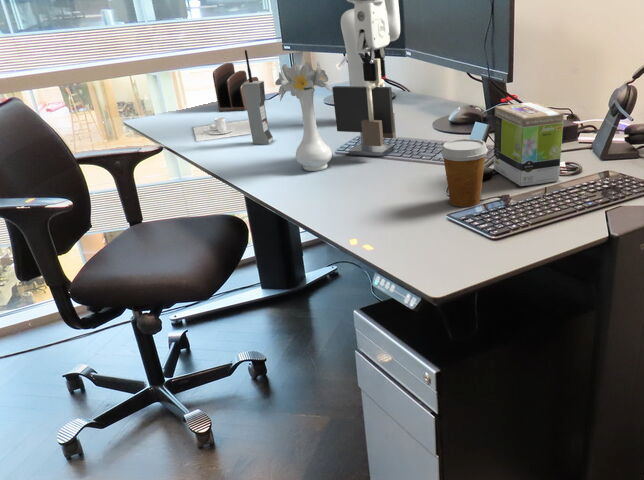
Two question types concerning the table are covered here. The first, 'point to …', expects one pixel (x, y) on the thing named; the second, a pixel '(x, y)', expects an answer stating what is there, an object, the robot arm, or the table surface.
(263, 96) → the vintage mobile phone
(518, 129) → the tea box
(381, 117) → the monitor
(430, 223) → the table surface
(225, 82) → the letter holder
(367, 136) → the headphones
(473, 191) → the disposable coffee cup
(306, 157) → the flower vase
